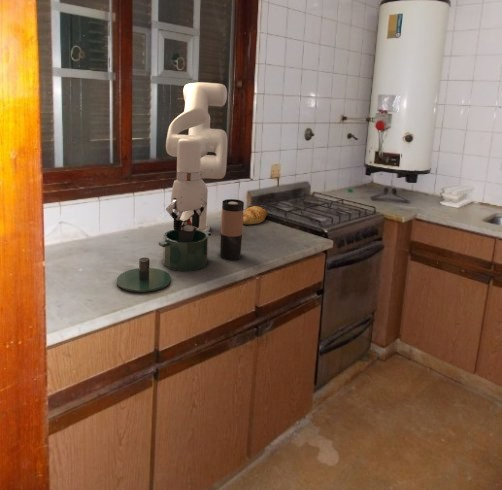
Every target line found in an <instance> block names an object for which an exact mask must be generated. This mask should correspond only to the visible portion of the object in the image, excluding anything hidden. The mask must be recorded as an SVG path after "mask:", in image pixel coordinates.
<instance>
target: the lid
mask: <svg viewBox="0 0 502 490" xmlns="http://www.w3.org/2000/svg"><path fill="white" fill-rule="evenodd" d="M150 259H151V258H149V257H140V258H139V259H138V268H133V269H129V270H126V271H123V272H121V273H120V274H119V275H118V276H117V277H116V284H117V286H118V287H120V288H121V289H123V290H126V291H130V292H134V293H135V292H136V293H145V292H153V291H157V290H161V289H163V288H164V287H167V286H168V285H169V284H170V283H171V279H172V278H171V275H170V274H169V273H168V272H167V271H166V270H163V269H159V268H153V267H150Z"/></svg>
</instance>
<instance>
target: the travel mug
mask: <svg viewBox="0 0 502 490" xmlns="http://www.w3.org/2000/svg"><path fill="white" fill-rule="evenodd" d="M221 204H222V205H221V220H220V246H219V248H220V249H219V251H220V253H219V255H220V258H222V259H223V260H228V261H236V260H238V259H240V257H241V251H242V242H243V231H244V229H243V228H244V224H243V215H244V212H245V210H244V208H245V202H244V200H240V199H235V198H233V199H232V198H229V199H228V198H227V199H224V200H222V201H221Z"/></svg>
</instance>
